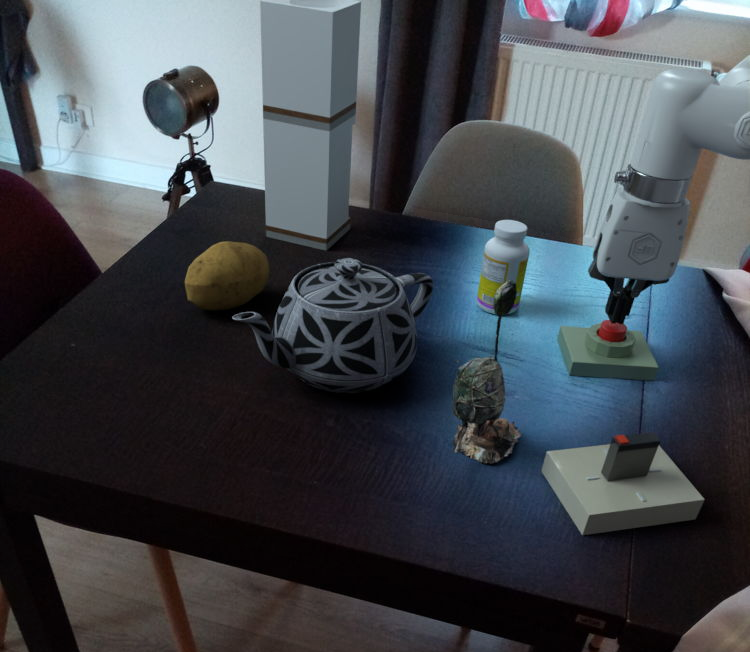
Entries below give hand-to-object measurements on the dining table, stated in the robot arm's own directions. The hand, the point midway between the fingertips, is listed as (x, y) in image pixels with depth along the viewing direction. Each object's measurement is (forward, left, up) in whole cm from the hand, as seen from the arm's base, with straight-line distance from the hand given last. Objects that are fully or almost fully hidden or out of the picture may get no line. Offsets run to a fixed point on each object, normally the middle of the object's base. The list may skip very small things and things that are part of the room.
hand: (614, 318), depth 108 cm
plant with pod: (+20, +22, -7) cm, 30 cm away
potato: (+55, -9, -7) cm, 56 cm away
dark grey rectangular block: (+5, +30, -3) cm, 31 cm away
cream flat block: (+5, +30, -6) cm, 31 cm away
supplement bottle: (+14, -14, -7) cm, 21 cm away
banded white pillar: (+45, -37, -7) cm, 58 cm away
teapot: (+38, +7, -7) cm, 39 cm away
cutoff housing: (0, 0, -6) cm, 6 cm away
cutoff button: (0, 0, -3) cm, 3 cm away
